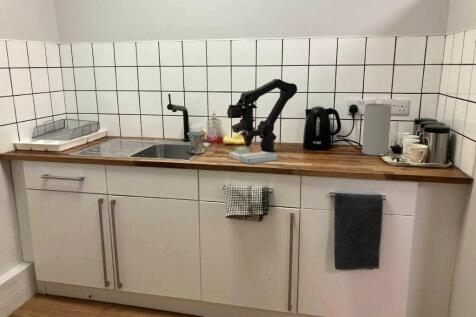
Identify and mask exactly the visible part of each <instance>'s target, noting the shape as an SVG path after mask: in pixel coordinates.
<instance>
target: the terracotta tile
mask: <svg viewBox="0 0 476 317" xmlns="http://www.w3.org/2000/svg"><path fill="white" fill-rule="evenodd" d="M247 148H249V152H251V153H258V152H261V147H260V146H259V145H250V146H248V147H247Z"/></svg>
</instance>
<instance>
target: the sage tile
mask: <svg viewBox="0 0 476 317" xmlns="http://www.w3.org/2000/svg"><path fill="white" fill-rule="evenodd" d="M234 151H235V153H237V154H240V155H241V154H249V148H248V147H246V146H238V147H235V148H234Z"/></svg>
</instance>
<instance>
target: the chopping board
mask: <svg viewBox="0 0 476 317" xmlns="http://www.w3.org/2000/svg"><path fill="white" fill-rule="evenodd" d="M239 155H240V154H237V153H235V150H234V151H229V152H228V156H229V157H231V158H234V159H235V160H238V161H240V160H239ZM241 156H244V157H246V158H257V157H265V156H267V152H264V151H261V152H258V153H251V152H249V154H241Z"/></svg>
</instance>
